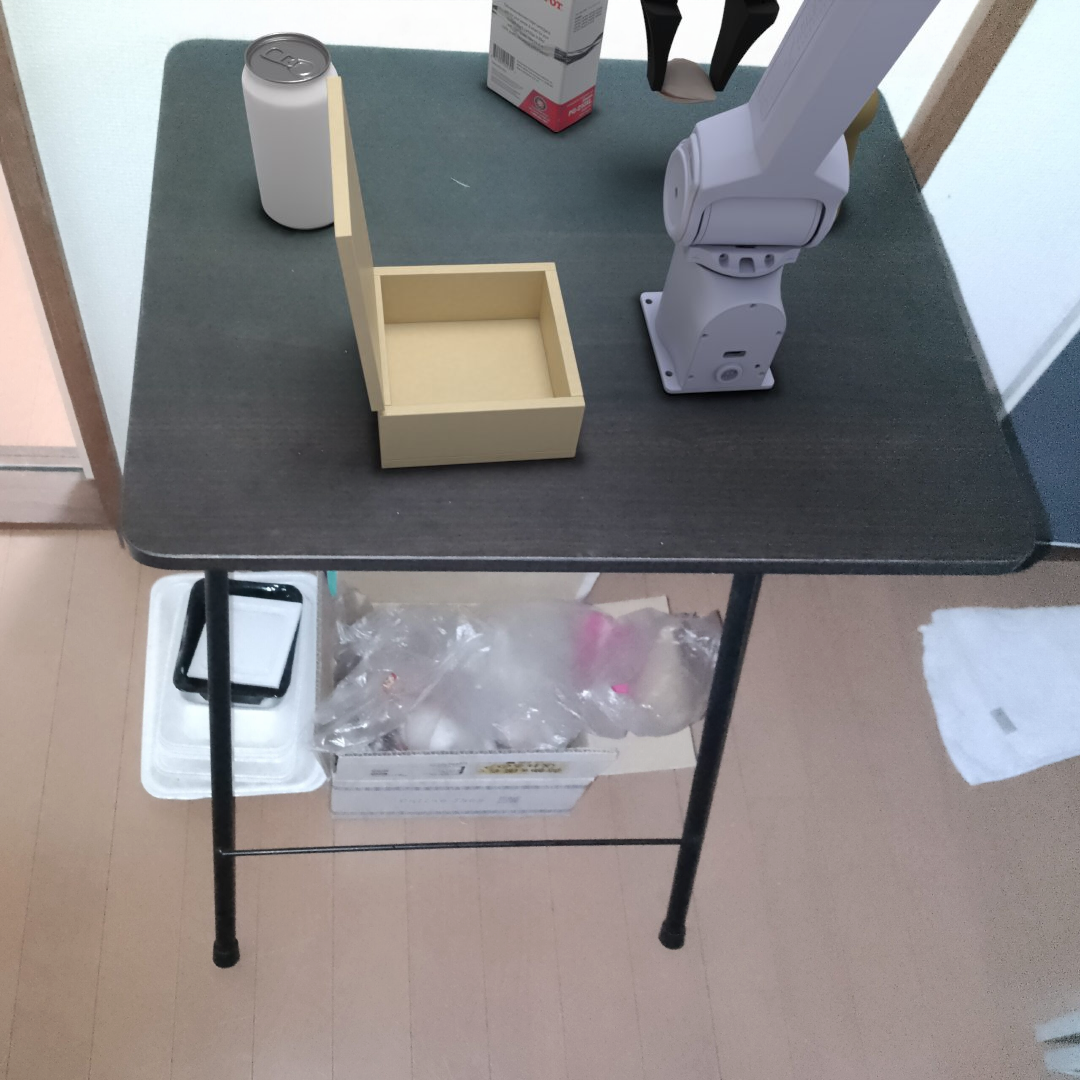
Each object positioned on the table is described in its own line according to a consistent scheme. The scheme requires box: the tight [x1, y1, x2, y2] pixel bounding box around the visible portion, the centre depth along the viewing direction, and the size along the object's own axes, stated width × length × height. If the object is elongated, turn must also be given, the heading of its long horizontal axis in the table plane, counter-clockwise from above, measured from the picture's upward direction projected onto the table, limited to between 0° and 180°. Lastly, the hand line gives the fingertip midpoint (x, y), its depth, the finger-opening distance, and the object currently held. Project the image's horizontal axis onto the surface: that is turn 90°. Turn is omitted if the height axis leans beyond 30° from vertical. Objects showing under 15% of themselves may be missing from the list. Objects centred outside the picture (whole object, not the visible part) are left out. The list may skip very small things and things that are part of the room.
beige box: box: [373, 261, 586, 469], centre depth 65 cm, size 13×13×5 cm
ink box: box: [486, 0, 609, 133], centre depth 81 cm, size 8×5×12 cm, turn 47°
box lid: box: [326, 75, 385, 412], centre depth 56 cm, size 13×13×1 cm
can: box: [241, 31, 339, 231], centre depth 71 cm, size 6×6×12 cm
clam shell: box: [655, 57, 718, 105], centre depth 75 cm, size 4×5×2 cm
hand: (685, 83), depth 75 cm, fingers closed on clam shell, 4 cm apart
